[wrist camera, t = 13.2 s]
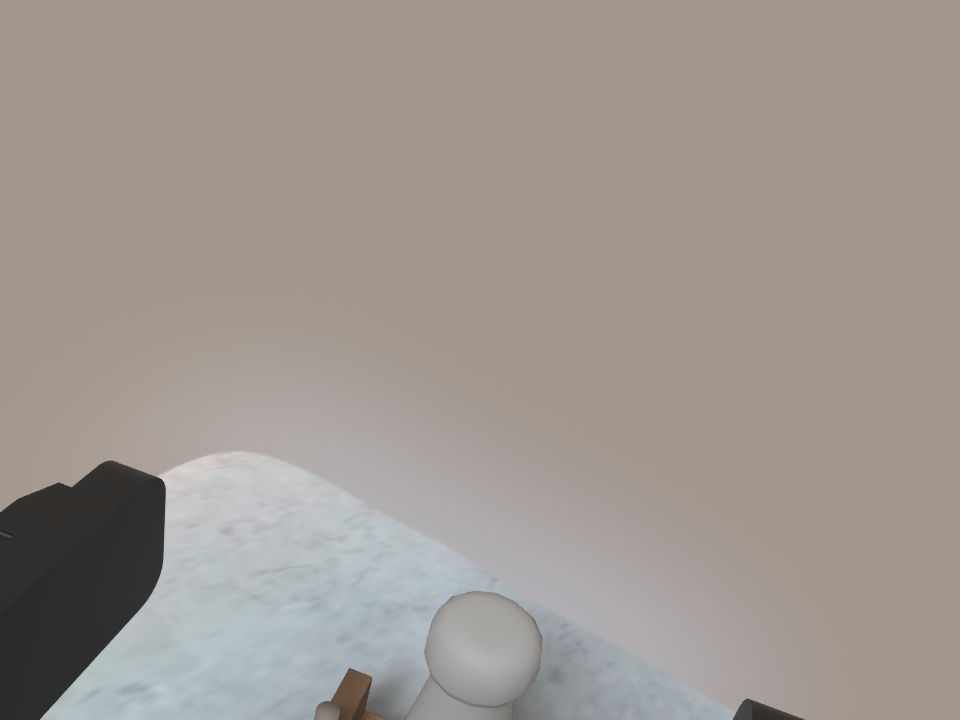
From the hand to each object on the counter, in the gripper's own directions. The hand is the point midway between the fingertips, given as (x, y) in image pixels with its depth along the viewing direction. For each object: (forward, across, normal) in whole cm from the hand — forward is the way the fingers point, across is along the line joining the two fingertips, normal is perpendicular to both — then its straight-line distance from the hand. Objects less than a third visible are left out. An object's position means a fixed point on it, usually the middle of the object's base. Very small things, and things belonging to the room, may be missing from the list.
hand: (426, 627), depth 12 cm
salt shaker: (+15, 0, +28) cm, 32 cm away
